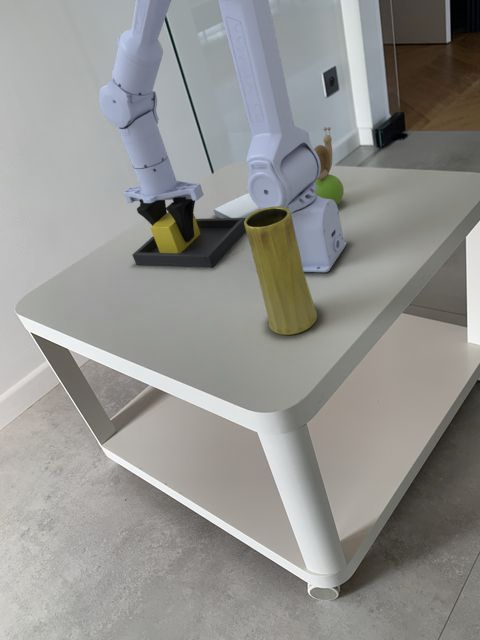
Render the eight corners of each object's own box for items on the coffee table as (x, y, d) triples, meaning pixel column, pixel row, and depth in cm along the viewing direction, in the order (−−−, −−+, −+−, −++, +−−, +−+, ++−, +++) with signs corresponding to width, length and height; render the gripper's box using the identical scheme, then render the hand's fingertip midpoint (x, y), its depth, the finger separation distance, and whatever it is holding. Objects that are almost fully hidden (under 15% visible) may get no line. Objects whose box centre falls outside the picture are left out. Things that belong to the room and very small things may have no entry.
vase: (314, 334, 66) (289, 225, 57) (265, 337, 68) (234, 233, 59) (320, 304, 70) (297, 200, 62) (274, 309, 72) (246, 208, 64)
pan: (248, 228, 94) (245, 217, 93) (212, 267, 86) (208, 256, 85) (176, 228, 102) (172, 218, 100) (136, 265, 93) (131, 254, 92)
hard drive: (215, 216, 102) (270, 189, 105) (236, 227, 96) (294, 198, 99) (212, 208, 101) (269, 181, 104) (233, 219, 95) (292, 190, 98)
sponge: (200, 233, 96) (191, 207, 93) (179, 254, 91) (169, 227, 88) (182, 233, 98) (172, 207, 95) (160, 254, 93) (149, 227, 90)
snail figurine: (353, 197, 94) (342, 125, 86) (337, 214, 90) (324, 141, 83) (325, 196, 97) (312, 127, 89) (308, 213, 93) (293, 142, 86)
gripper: (100, 174, 87) (133, 250, 95) (173, 169, 80) (202, 251, 88) (127, 156, 91) (156, 230, 100) (198, 150, 84) (223, 230, 92)
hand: (179, 239), depth 94 cm, fingers closed on sponge, 4 cm apart
